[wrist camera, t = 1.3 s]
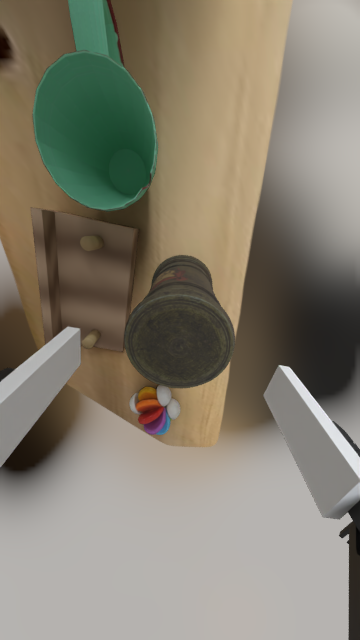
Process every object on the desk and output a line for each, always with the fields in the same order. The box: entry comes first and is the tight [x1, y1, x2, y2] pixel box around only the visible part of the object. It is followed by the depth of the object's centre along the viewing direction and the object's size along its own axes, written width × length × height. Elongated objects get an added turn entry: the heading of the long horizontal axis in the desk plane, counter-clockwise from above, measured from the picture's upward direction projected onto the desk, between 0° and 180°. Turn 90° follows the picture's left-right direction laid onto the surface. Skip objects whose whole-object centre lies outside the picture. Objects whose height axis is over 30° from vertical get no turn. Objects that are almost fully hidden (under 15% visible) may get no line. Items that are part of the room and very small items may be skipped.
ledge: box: [31, 207, 139, 352], centre depth 28 cm, size 19×11×6 cm, turn 168°
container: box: [124, 255, 235, 388], centre depth 22 cm, size 9×9×18 cm
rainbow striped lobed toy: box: [129, 385, 180, 435], centre depth 38 cm, size 8×10×7 cm
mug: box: [33, 0, 158, 211], centre depth 19 cm, size 15×10×10 cm
